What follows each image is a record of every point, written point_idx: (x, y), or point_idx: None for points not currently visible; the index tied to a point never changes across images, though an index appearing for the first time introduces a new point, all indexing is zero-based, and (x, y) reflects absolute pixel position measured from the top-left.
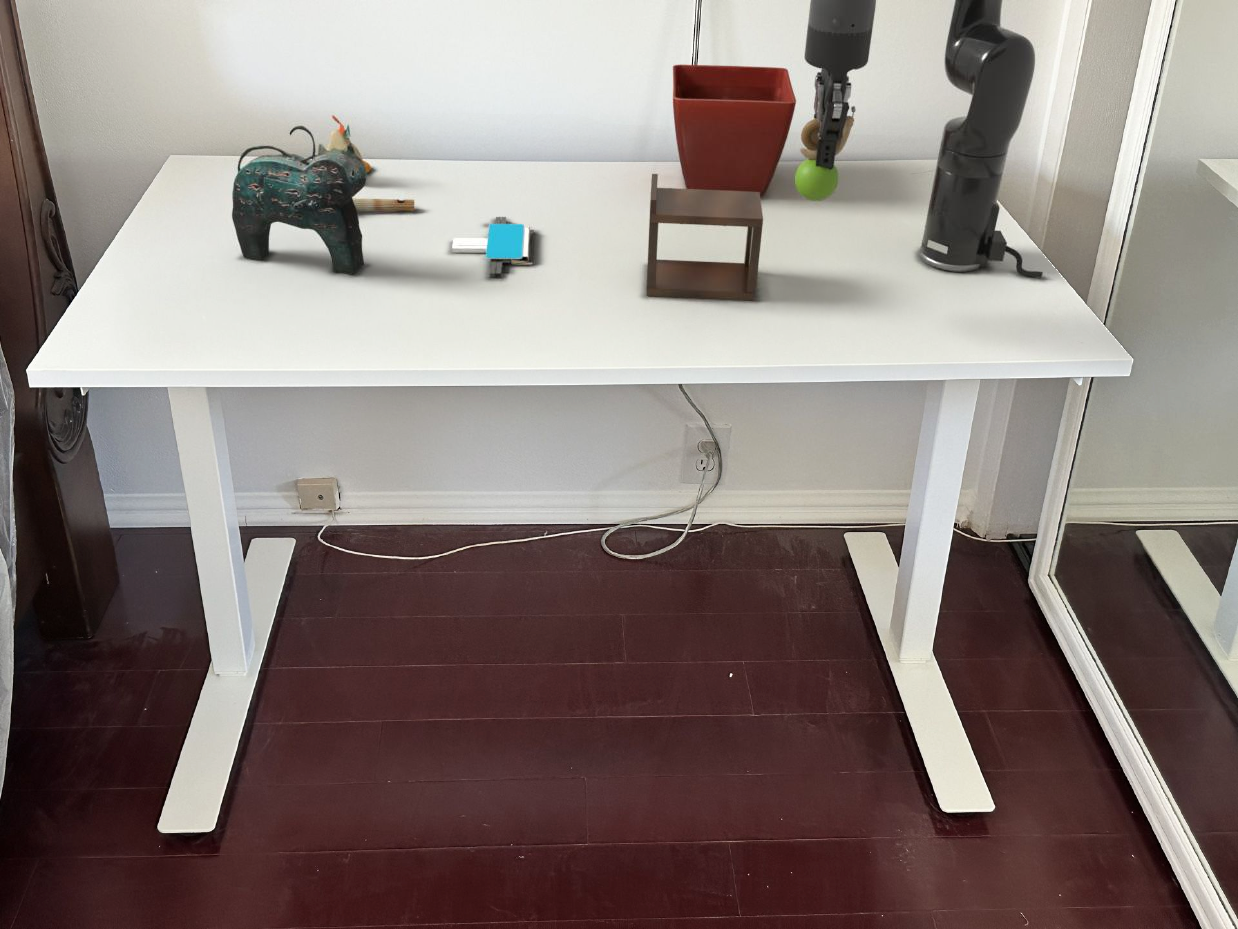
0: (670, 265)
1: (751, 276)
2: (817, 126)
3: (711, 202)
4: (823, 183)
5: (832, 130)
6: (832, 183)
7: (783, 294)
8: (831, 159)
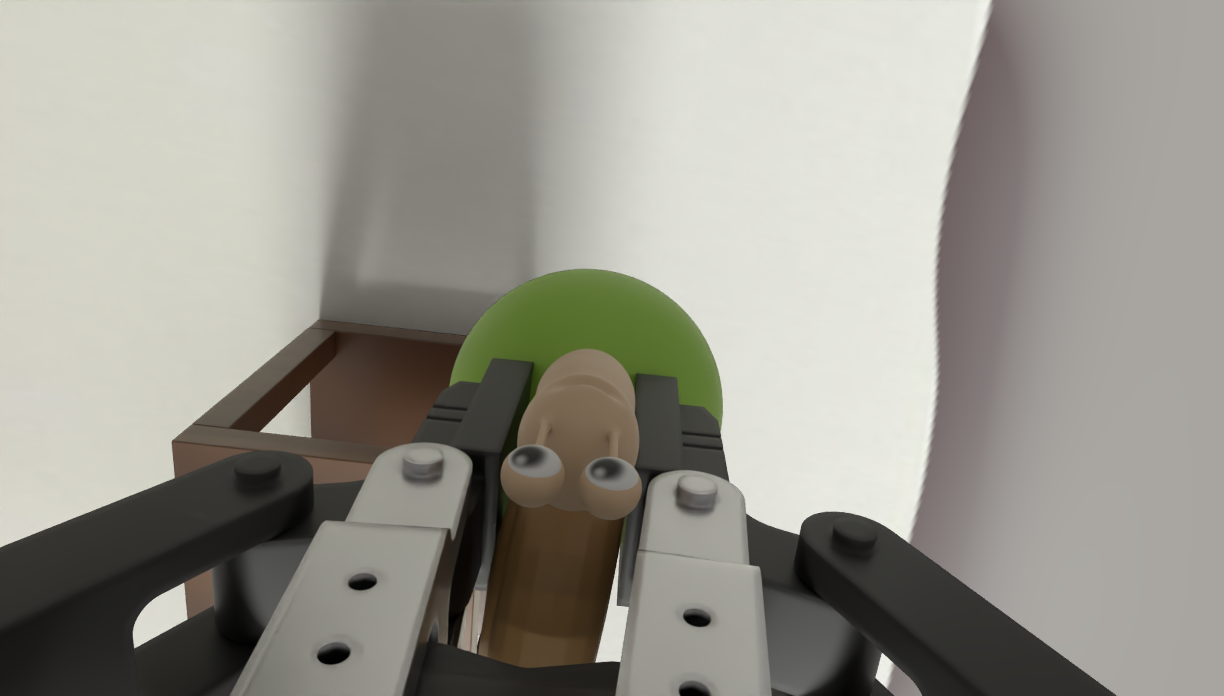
0: None
1: None
2: None
3: None
4: (722, 402)
5: (847, 649)
6: (702, 339)
7: (482, 244)
8: (719, 438)
